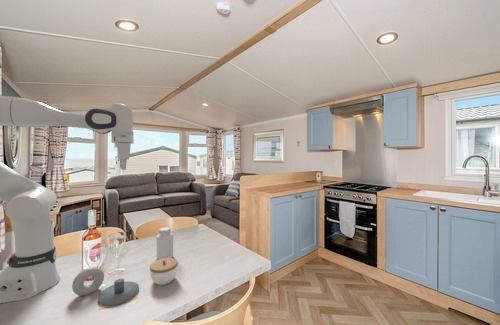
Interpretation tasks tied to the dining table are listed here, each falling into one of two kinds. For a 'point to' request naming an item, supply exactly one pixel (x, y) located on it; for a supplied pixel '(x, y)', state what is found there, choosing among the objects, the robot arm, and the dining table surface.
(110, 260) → the dining table surface
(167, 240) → the pill bottle
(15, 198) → the robot arm
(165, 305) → the dining table surface
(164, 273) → the lidded jar
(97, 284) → the donut
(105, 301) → the lid
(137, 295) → the mat
